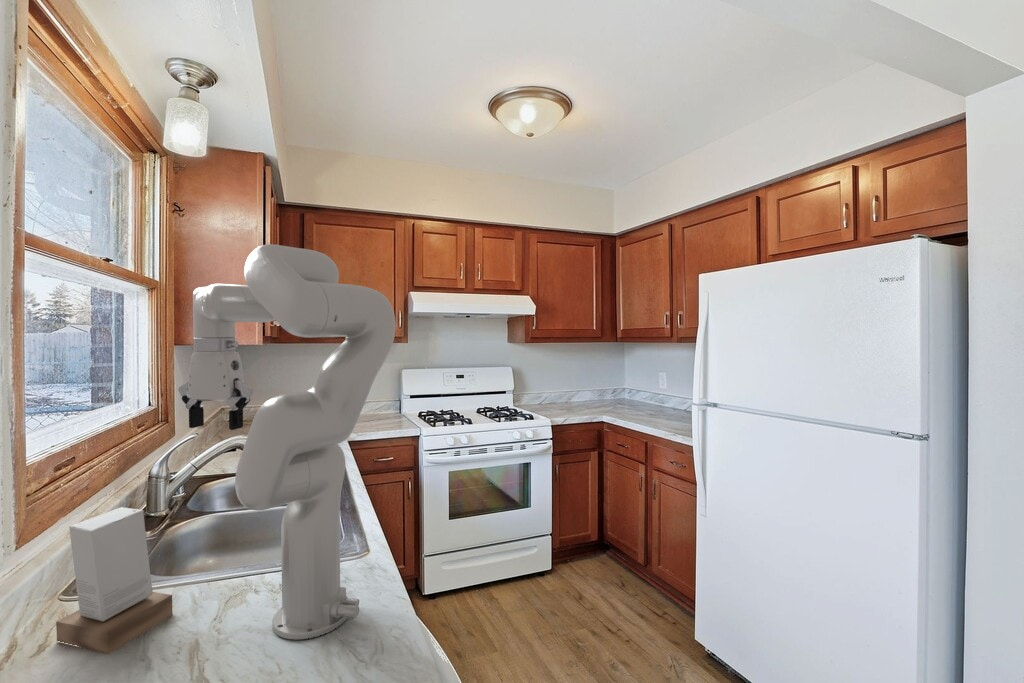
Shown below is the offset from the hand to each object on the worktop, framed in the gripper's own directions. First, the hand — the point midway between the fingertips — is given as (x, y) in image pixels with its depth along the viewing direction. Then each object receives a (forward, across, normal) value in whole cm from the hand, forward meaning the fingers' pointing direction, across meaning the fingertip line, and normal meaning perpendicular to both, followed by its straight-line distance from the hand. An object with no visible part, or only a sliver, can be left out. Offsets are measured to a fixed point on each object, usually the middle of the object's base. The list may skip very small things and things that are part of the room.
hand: (216, 427), depth 104 cm
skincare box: (+27, +1, +21) cm, 34 cm away
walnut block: (+31, +1, +21) cm, 37 cm away
